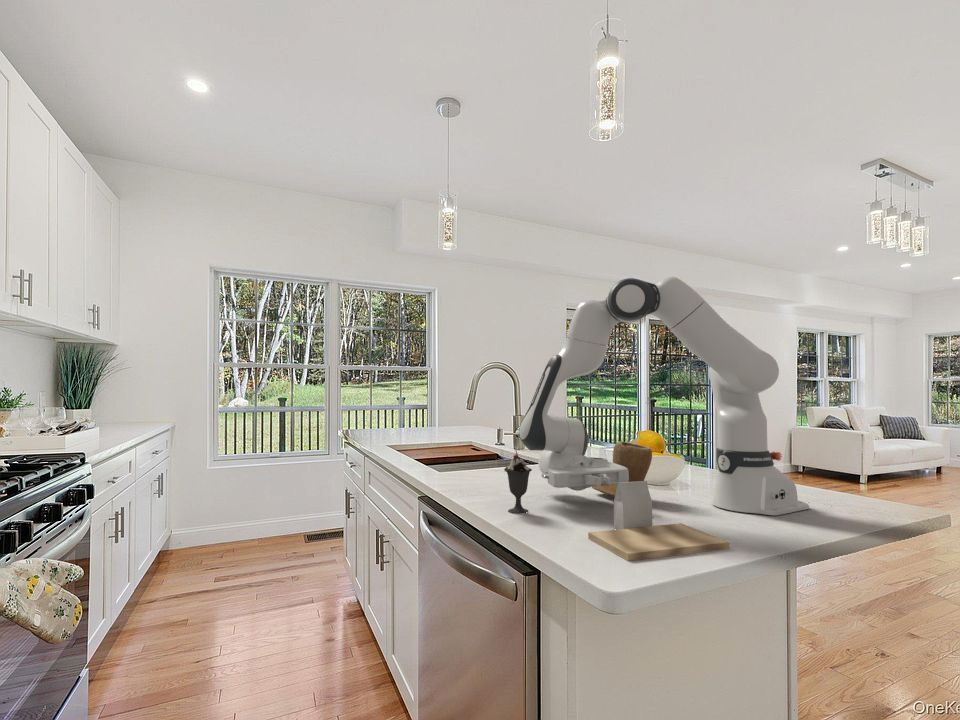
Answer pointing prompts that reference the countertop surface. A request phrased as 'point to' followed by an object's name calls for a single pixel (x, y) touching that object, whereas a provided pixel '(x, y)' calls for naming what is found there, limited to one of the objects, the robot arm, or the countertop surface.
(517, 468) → the sundae
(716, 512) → the countertop surface
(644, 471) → the brown suede boot
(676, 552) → the oak board
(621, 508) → the white printed carton
